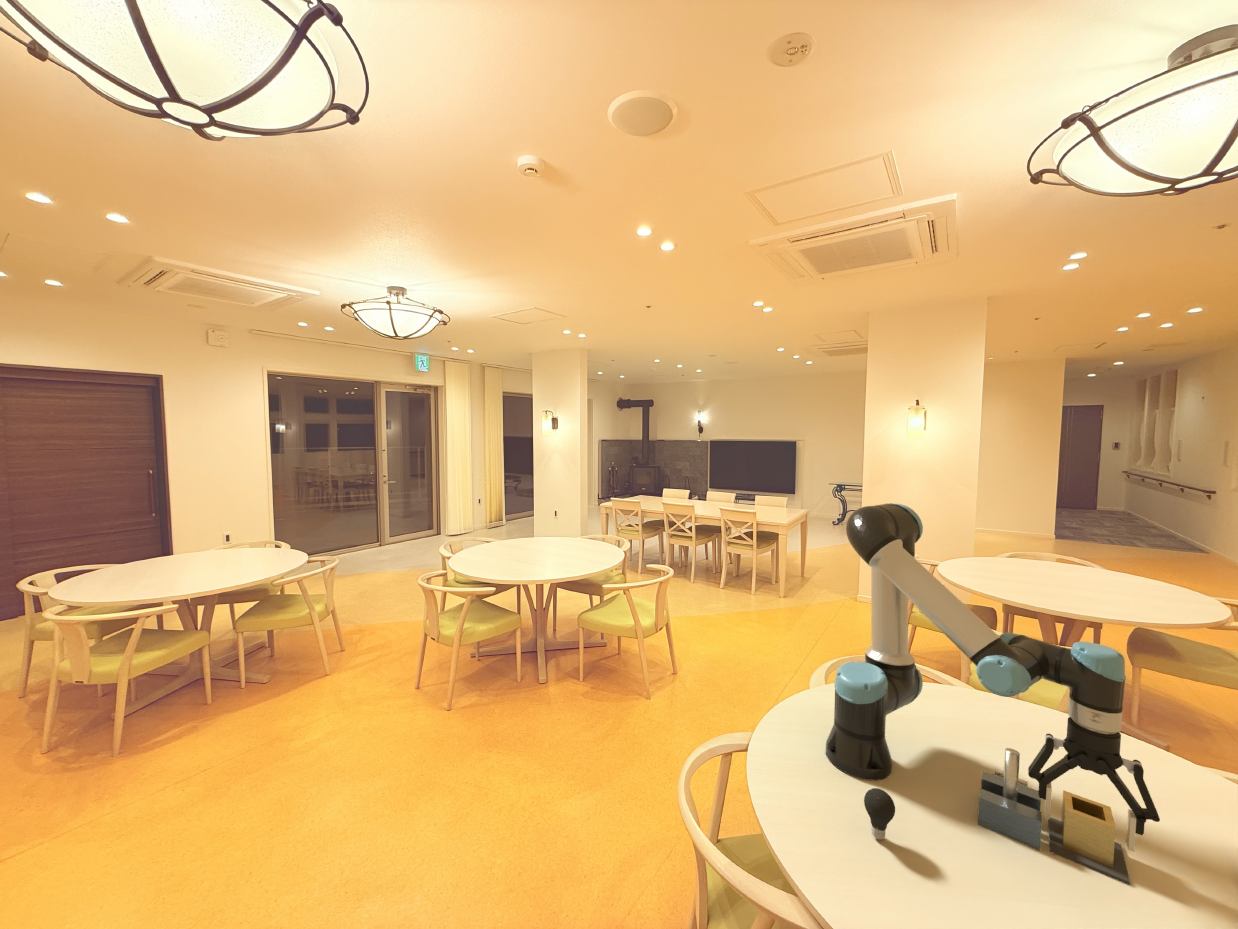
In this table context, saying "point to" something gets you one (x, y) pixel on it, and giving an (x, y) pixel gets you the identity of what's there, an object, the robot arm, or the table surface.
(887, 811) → the light bulb
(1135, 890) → the table surface
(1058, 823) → the mat
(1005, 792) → the vise
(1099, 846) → the open wooden box
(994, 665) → the robot arm
